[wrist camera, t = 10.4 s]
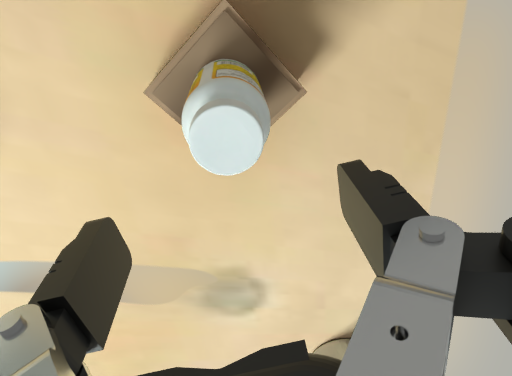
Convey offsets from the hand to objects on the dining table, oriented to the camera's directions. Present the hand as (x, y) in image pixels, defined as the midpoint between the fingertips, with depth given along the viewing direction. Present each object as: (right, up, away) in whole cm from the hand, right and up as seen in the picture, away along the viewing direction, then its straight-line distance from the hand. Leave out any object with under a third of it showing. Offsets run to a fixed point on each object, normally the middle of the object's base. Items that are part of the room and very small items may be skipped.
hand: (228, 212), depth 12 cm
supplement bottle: (-1, +8, +14) cm, 16 cm away
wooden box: (-2, +10, +18) cm, 21 cm away
